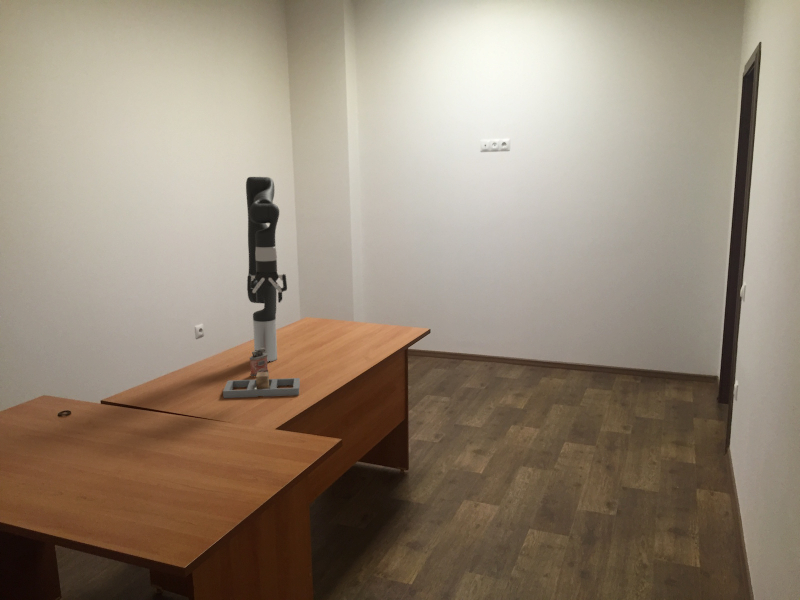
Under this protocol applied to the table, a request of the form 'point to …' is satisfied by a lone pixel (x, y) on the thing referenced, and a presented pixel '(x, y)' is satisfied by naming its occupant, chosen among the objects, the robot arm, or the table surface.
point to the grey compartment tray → (255, 392)
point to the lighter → (258, 362)
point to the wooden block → (262, 380)
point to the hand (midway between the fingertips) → (267, 302)
